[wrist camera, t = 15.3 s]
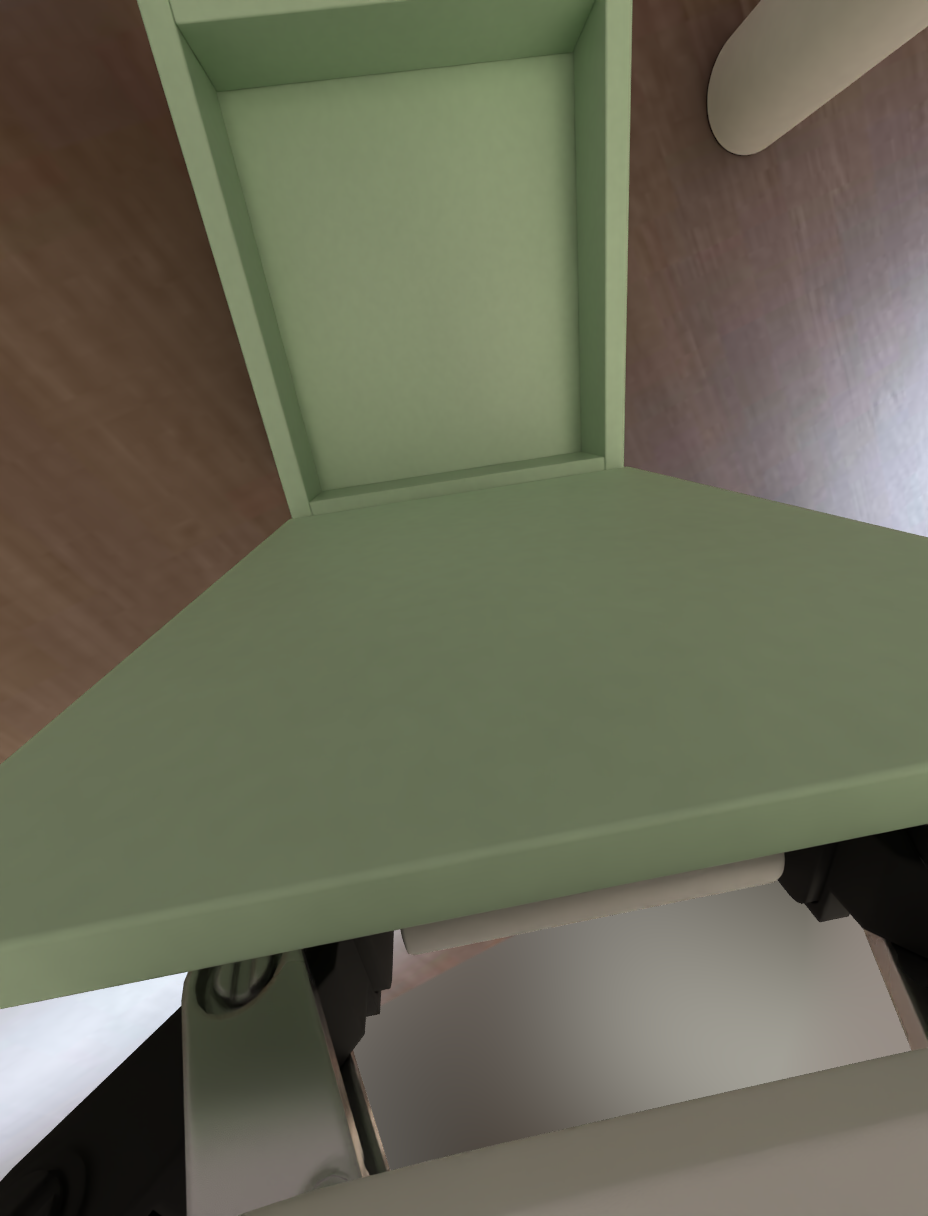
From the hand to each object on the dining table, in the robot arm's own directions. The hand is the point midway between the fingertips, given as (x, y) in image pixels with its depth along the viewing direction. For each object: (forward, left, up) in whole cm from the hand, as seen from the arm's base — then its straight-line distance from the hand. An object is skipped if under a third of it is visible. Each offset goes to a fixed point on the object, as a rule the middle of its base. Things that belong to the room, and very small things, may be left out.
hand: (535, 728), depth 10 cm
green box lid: (-3, 0, -3) cm, 5 cm away
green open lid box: (-11, +2, -16) cm, 19 cm away
